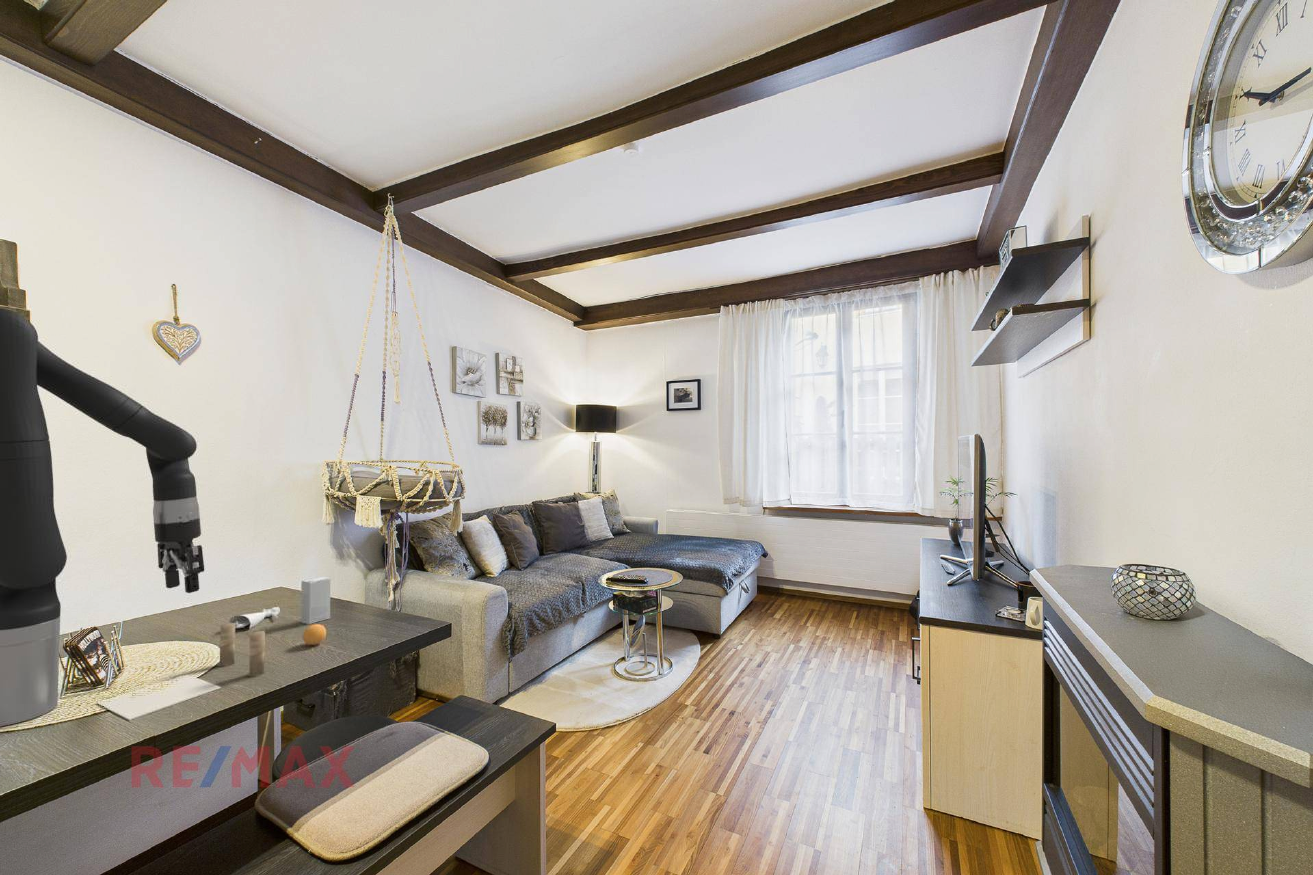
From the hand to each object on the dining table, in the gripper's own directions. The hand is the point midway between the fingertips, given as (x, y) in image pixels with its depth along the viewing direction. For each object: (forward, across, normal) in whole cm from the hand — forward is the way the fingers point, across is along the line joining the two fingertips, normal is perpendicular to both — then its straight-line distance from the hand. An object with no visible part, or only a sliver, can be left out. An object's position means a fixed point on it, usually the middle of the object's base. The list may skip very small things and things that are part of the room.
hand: (182, 589), depth 115 cm
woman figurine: (+21, -21, +24) cm, 38 cm away
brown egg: (+17, +11, +21) cm, 30 cm away
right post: (+19, +17, +5) cm, 26 cm away
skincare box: (+21, -7, +32) cm, 39 cm away
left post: (+19, +5, +5) cm, 20 cm away
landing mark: (+18, +11, -9) cm, 23 cm away
